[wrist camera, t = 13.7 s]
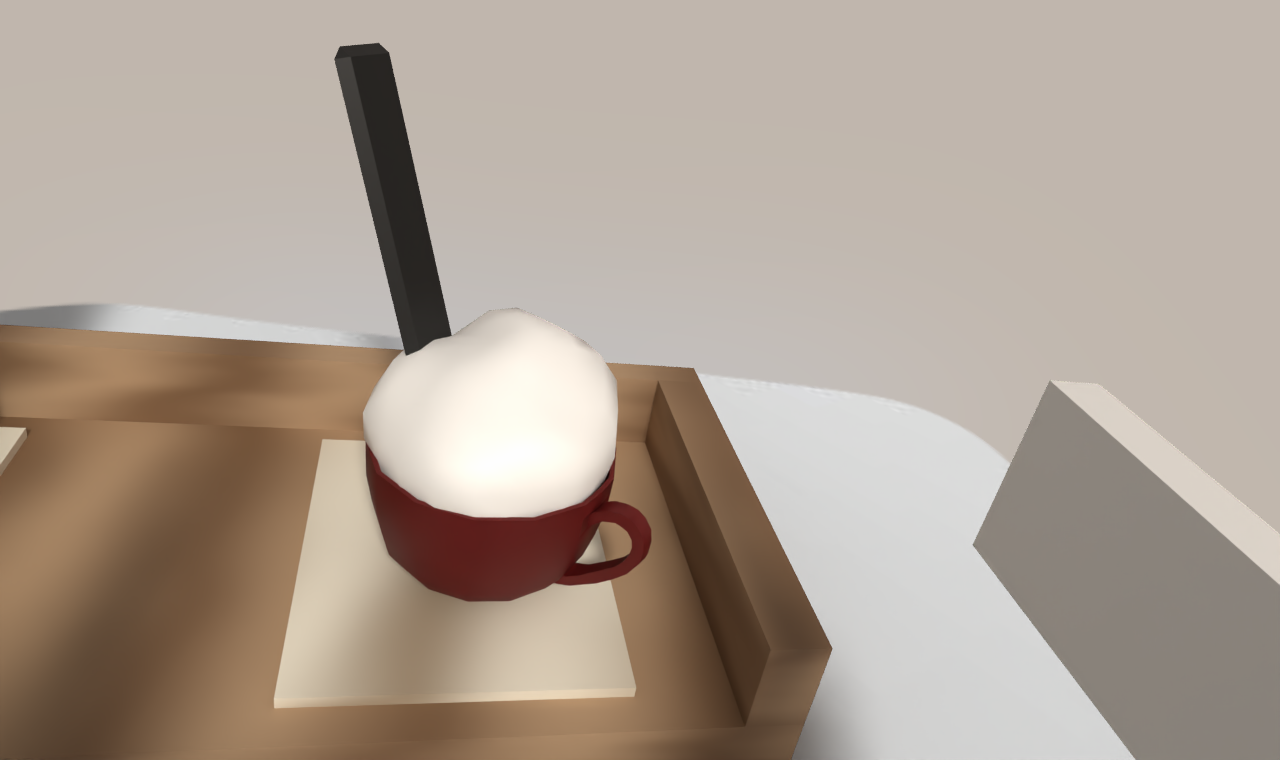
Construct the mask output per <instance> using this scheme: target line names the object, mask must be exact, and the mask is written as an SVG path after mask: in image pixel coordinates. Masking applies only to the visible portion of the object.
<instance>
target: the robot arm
mask: <svg viewBox="0 0 1280 760" xmlns="http://www.w3.org/2000/svg"><path fill="white" fill-rule="evenodd" d="M973 546H974V547H975V549H976V550H977V551H978V553H979V554H980V555H981V556H982V558H983V559H984V560H985V562H986V563H987V564H988V566H989V567H990V568H991V570H992V571H993V572H994V574H995V575H996V576H997V578H998V579H999V580H1000V582H1001V583H1002V584H1003V585H1004V587H1005V588H1006V589H1007V591H1008V592H1009V593H1010V595H1011V596H1012V597H1013V599H1014V600H1015V601H1016V603H1017V604H1018V605H1019V607H1020V608H1021V609H1022V610H1023V612H1024V613H1025V614H1026V616H1027V617H1028V618H1029V620H1030V621H1031V622H1032V624H1033V625H1034V626H1035V628H1036V629H1037V630H1038V632H1039V633H1040V634H1041V636H1042V637H1043V638H1044V639H1045V641H1046V642H1047V643H1048V645H1049V646H1050V647H1051V649H1052V650H1053V651H1054V653H1055V654H1056V655H1057V657H1058V658H1059V659H1060V661H1061V662H1062V663H1063V664H1064V666H1065V667H1066V668H1067V670H1068V671H1069V672H1070V674H1071V675H1072V676H1073V678H1074V679H1075V680H1076V682H1077V683H1078V684H1079V686H1080V687H1081V688H1082V690H1083V691H1084V692H1085V693H1086V695H1087V696H1088V697H1089V699H1090V700H1091V701H1092V703H1093V704H1094V705H1095V707H1096V708H1097V709H1098V711H1099V712H1100V713H1101V715H1102V716H1103V717H1104V718H1105V720H1106V721H1107V722H1108V724H1109V725H1110V726H1111V728H1112V729H1113V730H1114V732H1115V733H1116V734H1117V736H1118V737H1119V738H1120V740H1121V741H1122V742H1123V744H1124V745H1125V746H1126V747H1127V749H1128V750H1129V751H1130V753H1131V754H1132V755H1133V757H1134V758H1135V759H1136V760H1280V534H1279V533H1278V532H1277V531H1276V530H1274V529H1273V528H1272V527H1271V526H1270V525H1268V524H1267V523H1266V522H1265V521H1263V520H1262V519H1261V518H1260V517H1259V516H1257V515H1256V514H1255V513H1254V512H1253V511H1251V510H1250V509H1249V508H1248V507H1247V506H1245V505H1244V504H1243V503H1242V502H1241V501H1239V500H1238V499H1237V498H1236V497H1235V496H1233V495H1232V494H1231V493H1230V492H1229V491H1227V490H1226V489H1225V488H1224V487H1222V486H1221V485H1220V484H1219V483H1218V482H1217V481H1215V480H1214V479H1213V478H1212V477H1211V476H1209V475H1208V474H1207V473H1206V472H1205V471H1203V470H1202V469H1201V468H1200V467H1198V466H1197V465H1196V464H1195V463H1193V462H1192V461H1191V460H1190V459H1189V458H1188V457H1186V456H1185V455H1184V454H1183V453H1182V452H1180V451H1179V450H1178V449H1177V448H1176V447H1174V446H1173V445H1172V444H1171V443H1170V442H1168V441H1167V440H1166V439H1165V438H1163V437H1162V436H1161V435H1160V434H1159V433H1158V432H1156V431H1155V430H1154V429H1153V428H1151V427H1150V426H1149V425H1148V424H1147V423H1145V422H1144V421H1143V420H1142V419H1141V418H1139V417H1138V416H1137V415H1136V414H1134V413H1133V412H1132V411H1131V410H1130V409H1129V408H1127V407H1126V406H1125V405H1124V404H1122V403H1121V402H1120V401H1119V400H1118V399H1117V398H1115V397H1114V396H1113V395H1112V394H1110V393H1109V392H1108V391H1107V390H1106V389H1105V388H1103V387H1102V386H1101V385H1100V384H1093V383H1077V382H1065V381H1051V380H1050V381H1049V383H1048V385H1047V388H1046V390H1045V392H1044V394H1043V396H1042V398H1041V400H1040V402H1039V405H1038V407H1037V409H1036V411H1035V413H1034V415H1033V417H1032V420H1031V422H1030V424H1029V426H1028V428H1027V430H1026V432H1025V434H1024V437H1023V439H1022V441H1021V443H1020V445H1019V447H1018V449H1017V452H1016V454H1015V456H1014V458H1013V460H1012V462H1011V464H1010V466H1009V469H1008V471H1007V473H1006V475H1005V477H1004V479H1003V481H1002V484H1001V486H1000V488H999V490H998V492H997V494H996V496H995V498H994V501H993V503H992V505H991V507H990V509H989V511H988V513H987V516H986V518H985V520H984V522H983V524H982V526H981V528H980V531H979V533H978V535H977V537H976V539H975V541H974V543H973Z"/></svg>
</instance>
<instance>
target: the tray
mask: <svg viewBox="0 0 1280 760" xmlns="http://www.w3.org/2000/svg"><path fill="white" fill-rule="evenodd" d="M402 351H403V350H395V349H379V348H363V347H347V346H331V345H315V344H300V343H284V342H268V341H252V340H236V339H220V338H204V337H188V336H172V335H156V334H140V333H124V332H108V331H92V330H76V329H61V328H45V327H29V326H13V325H0V760H791V758H792V755H793V752H794V750H795V747H796V744H797V742H798V739H799V736H800V734H801V731H802V728H803V726H804V723H805V720H806V718H807V715H808V712H809V710H810V707H811V705H812V702H813V699H814V697H815V694H816V691H817V689H818V686H819V683H820V681H821V678H822V675H823V673H824V670H825V667H826V665H827V662H828V659H829V657H830V654H831V651H832V647H831V645H830V643H829V641H828V639H827V637H826V635H825V632H824V630H823V628H822V626H821V624H820V622H819V620H818V618H817V616H816V614H815V612H814V610H813V608H812V606H811V604H810V602H809V600H808V598H807V596H806V594H805V592H804V590H803V588H802V586H801V584H800V582H799V580H798V578H797V576H796V574H795V572H794V570H793V568H792V566H791V564H790V562H789V560H788V558H787V556H786V554H785V552H784V550H783V548H782V546H781V544H780V542H779V540H778V538H777V536H776V534H775V531H774V529H773V527H772V525H771V523H770V521H769V519H768V517H767V515H766V513H765V511H764V509H763V507H762V505H761V503H760V501H759V499H758V497H757V495H756V493H755V491H754V489H753V487H752V485H751V483H750V481H749V479H748V477H747V475H746V473H745V471H744V469H743V467H742V465H741V463H740V461H739V459H738V457H737V455H736V453H735V451H734V449H733V447H732V445H731V443H730V441H729V439H728V437H727V435H726V433H725V430H724V428H723V426H722V424H721V422H720V420H719V418H718V416H717V414H716V412H715V410H714V408H713V406H712V404H711V402H710V400H709V398H708V396H707V394H706V392H705V390H704V388H703V386H702V384H701V382H700V380H699V378H698V376H697V374H696V372H695V370H694V368H681V367H666V366H650V365H634V364H618V363H606V364H607V366H608V367H609V369H610V370H611V372H612V374H613V375H614V377H615V378H616V380H617V398H618V419H617V435H616V460H615V473H614V481H613V485H612V489H611V493H610V497H609V501H618V502H622V503H625V504H629V505H631V506H633V507H634V508H636V509H638V510H639V511H640V512H641V513H642V514H643V515H644V516H645V518H646V519H647V521H648V524H649V526H650V528H651V538H652V541H651V545H650V548H649V552H648V554H647V556H646V558H645V559H644V560H643V561H642V562H641V563H640V564H639V565H637V566H636V567H635V568H634V569H632V570H631V571H630V572H629V573H628V574H626V575H623V576H620V577H618V578H615V579H612V580H609V581H604V582H600V583H596V584H583V585H573V586H567V585H561V584H556V583H553V584H551V585H550V586H548V587H547V588H545V589H542V590H539V591H537V592H534V593H531V594H528V595H526V596H523V597H520V598H517V599H515V600H512V601H486V602H467V601H464V600H461V599H458V598H454V597H451V596H448V595H445V594H442V593H439V592H436V591H432V590H429V589H428V588H427V587H425V586H424V585H423V584H422V583H421V582H419V581H418V580H417V579H416V578H415V577H413V576H412V575H411V574H410V573H409V572H407V571H406V570H405V569H404V568H403V567H402V566H401V565H399V564H398V563H397V562H396V561H395V560H394V559H393V558H392V557H391V556H390V555H389V554H388V551H387V548H386V545H385V542H384V538H383V535H382V532H381V529H380V526H379V523H378V519H377V516H376V513H375V510H374V506H373V503H372V499H371V495H370V490H369V486H368V481H367V477H366V441H365V439H364V428H363V411H364V409H365V407H366V405H367V402H368V400H369V398H370V396H371V393H372V391H373V389H374V387H375V385H376V384H377V383H378V381H379V380H380V378H381V377H382V375H383V374H384V373H385V371H386V370H387V368H388V367H389V365H390V364H391V363H392V361H393V360H394V359H395V358H396V357H397V356H398V355H399V354H400V353H401V352H402ZM609 501H608V502H609ZM631 548H632V540H631V538H630V536H629V534H628V532H627V531H626V530H624V529H623V528H622V527H620V526H619V525H617V524H616V523H610V522H601V523H600V525H599V527H598V529H597V531H596V534H595V535H594V537H593V539H592V540H591V542H590V544H589V545H588V547H587V549H586V551H585V552H584V554H583V555H582V556H581V557H580V558H579V560H578V561H577V562H576V563H582V564H594V563H598V562H604V561H609V560H613V559H617V558H621V557H625V556H626V555H628V554H629V553H630V551H631Z"/></svg>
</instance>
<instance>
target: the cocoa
mask: <svg viewBox="0 0 1280 760" xmlns="http://www.w3.org/2000/svg"><path fill="white" fill-rule="evenodd" d="M335 64H336V68H337V72H338V76H339V80H340V84H341V88H342V93H343V97H344V101H345V105H346V109H347V113H348V118H349V122H350V126H351V130H352V134H353V138H354V143H355V147H356V151H357V155H358V159H359V163H360V167H361V172H362V176H363V180H364V184H365V188H366V192H367V196H368V201H369V205H370V209H371V213H372V217H373V221H374V226H375V230H376V234H377V238H378V242H379V246H380V250H381V255H382V259H383V262H384V267H385V271H386V275H387V279H388V284H389V287H390V292H391V296H392V300H393V304H394V309H395V312H396V316H397V321H398V325H399V329H400V333H401V338H402V342H403V346H404V350H403V351H402V352H401V353H400V354H399V355H398V356H397V357H396V358H395V359H394V360H393V361H392V363H391V364H390V365H389V367H388V368H387V370H386V371H385V373H384V374H383V375H382V377H381V378H380V380H379V381H378V383H377V384H376V385H375V387H374V389H373V391H372V393H371V396H370V398H369V400H368V402H367V405H366V407H365V409H364V411H363V428H364V439H365V441H366V477H367V481H368V486H369V490H370V495H371V499H372V503H373V506H374V510H375V513H376V516H377V519H378V523H379V526H380V529H381V532H382V535H383V538H384V542H385V545H386V548H387V551H388V554H389V555H390V556H391V557H392V558H393V559H394V560H395V561H396V562H397V563H398V564H399V565H401V566H402V567H403V568H404V569H405V570H406V571H407V572H409V573H410V574H411V575H412V576H413V577H415V578H416V579H417V580H418V581H419V582H421V583H422V584H423V585H424V586H425V587H427V588H428V589H429V590H432V591H436V592H439V593H442V594H445V595H448V596H451V597H454V598H458V599H461V600H464V601H467V602H486V601H512V600H515V599H517V598H520V597H523V596H526V595H528V594H531V593H534V592H537V591H539V590H542V589H545V588H547V587H548V586H550V585H551V584H553V583H556V584H561V585H567V586H573V585H583V584H596V583H600V582H604V581H609V580H612V579H615V578H618V577H620V576H623V575H626V574H628V573H629V572H630V571H631V570H632V569H634V568H635V567H636V566H637V565H639V564H640V563H641V562H642V561H643V560H644V559H645V558H646V556H647V554H648V552H649V548H650V545H651V541H652V538H651V528H650V526H649V524H648V521H647V519H646V518H645V516H644V515H643V514H642V513H641V512H640V511H639V510H638V509H636V508H634V507H633V506H631V505H629V504H625V503H622V502H618V501H609V497H610V493H611V489H612V485H613V481H614V473H615V460H616V435H617V419H618V398H617V380H616V378H615V377H614V375H613V374H612V372H611V370H610V369H609V367H608V366H607V364H606V363H605V361H604V359H603V358H602V356H601V355H599V354H598V353H597V352H596V351H595V350H594V349H593V348H592V347H591V346H590V345H589V344H587V343H586V342H585V341H584V340H582V339H580V338H578V337H576V336H575V335H573V334H571V333H570V332H568V331H566V330H564V329H562V328H560V327H558V326H556V325H554V324H552V323H550V322H548V321H546V320H544V319H542V318H540V317H538V316H535V315H533V314H530V313H528V312H526V311H523V310H521V309H519V308H511V309H500V310H490V311H488V312H486V313H485V314H483V315H482V316H480V317H479V318H477V319H476V320H475V321H473V322H472V323H470V324H469V325H467V326H466V327H464V328H463V329H461V330H460V331H458V332H457V333H456V334H454V335H451V330H450V326H449V321H448V317H447V312H446V308H445V303H444V299H443V294H442V290H441V285H440V281H439V276H438V272H437V267H436V263H435V258H434V254H433V249H432V245H431V240H430V235H429V231H428V226H427V222H426V218H425V213H424V208H423V204H422V199H421V195H420V191H419V186H418V182H417V177H416V172H415V168H414V163H413V159H412V154H411V150H410V145H409V141H408V136H407V132H406V127H405V123H404V118H403V114H402V109H401V105H400V100H399V96H398V91H397V86H396V82H395V77H394V74H393V69H392V64H391V59H390V55H389V52H388V51H387V50H386V49H385V48H383V47H382V46H381V45H380V44H379V43H374V44H363V45H352V46H340V48H339V50H338V52H337V55H336V57H335ZM608 501H609V502H608ZM601 522H610V523H616V524H617V525H619V526H620V527H622V528H623V529H624V530H626V531H627V532H628V534H629V536H630V538H631V540H632V548H631V551H630V553H629V554H628V555H626V556H625V557H621V558H617V559H613V560H609V561H604V562H598V563H594V564H582V563H576V562H577V561H578V560H579V558H580V557H581V556H582V555H583V554H584V552H585V551H586V549H587V547H588V545H589V544H590V542H591V540H592V539H593V537H594V535H595V534H596V531H597V529H598V527H599V525H600V523H601Z"/></svg>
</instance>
